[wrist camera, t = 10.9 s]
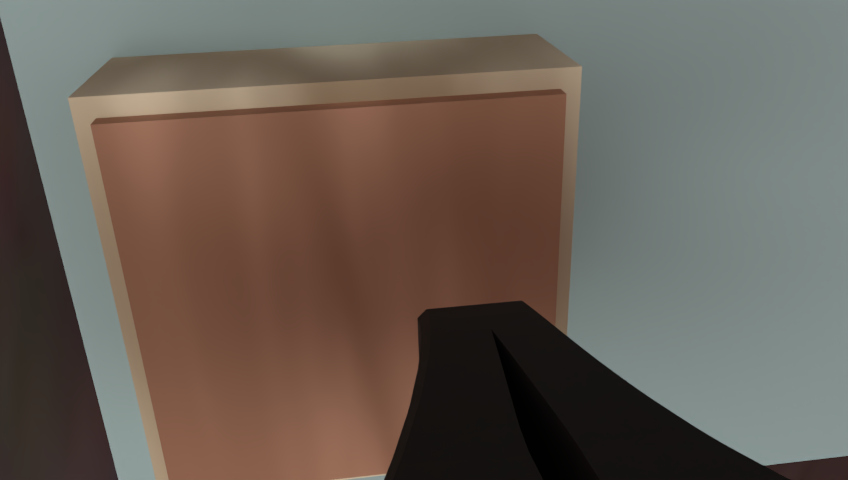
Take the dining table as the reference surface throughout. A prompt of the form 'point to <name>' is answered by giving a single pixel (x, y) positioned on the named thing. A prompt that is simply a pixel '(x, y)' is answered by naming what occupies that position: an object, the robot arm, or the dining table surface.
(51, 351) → the dining table surface
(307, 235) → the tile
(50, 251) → the dining table surface
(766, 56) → the mat
